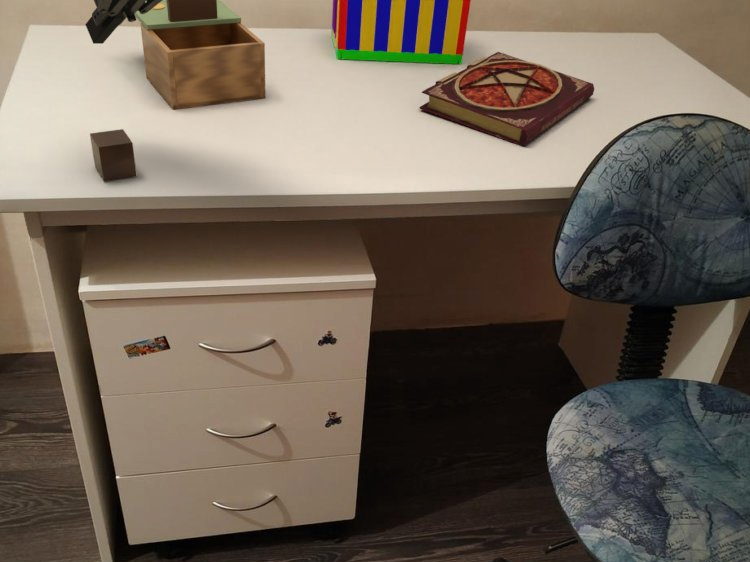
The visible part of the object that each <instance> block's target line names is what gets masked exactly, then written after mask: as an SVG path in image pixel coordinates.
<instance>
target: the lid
mask: <svg viewBox="0 0 750 562" xmlns="http://www.w3.org/2000/svg"><path fill="white" fill-rule="evenodd" d="M146 2H147V1H145V3H146ZM134 15H135V17H136V20H138V21H139V23H142V24H143V26H144V27H145V28H146V29H147V30H153V29H166V28H178V27H191V26H203V25H216V24H228V23H242V17H241V16H240V15H238V14H237V13H236V12H235V11H234V10H233V9H232V8H230V7H229V6H227V4H225V3H224V2H223V1H222V0H162V1H161V2H160V3H159V4H157V5H156V6H155V7H153V8H152V9H151V10H150V11H148V12H147V13H145V14H140V12H139V11H137V12H136V13H135V14H134Z"/></svg>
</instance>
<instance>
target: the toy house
mask: <svg viewBox="0 0 750 562" xmlns="http://www.w3.org/2000/svg"><path fill="white" fill-rule="evenodd" d="M471 2H472V0H332V11H331V12H332V13H331V14H332V15H331V39H332V43H333V46H334V51H335V55H336V59H337V60H349V61H354V60H358V61H359V60H361V61H377V62H393V63H394V62H395V63H396V62H402V63H403V62H404V63H419V64H423V63H424V64H425V63H427V64H430V63H431V64H445V65H446V64H447V65H450V64H452V65H462V62H463V55H464V49H465V43H466V42H465V41H466V34H467V28H468V22H469V14H470V8H471Z"/></svg>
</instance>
